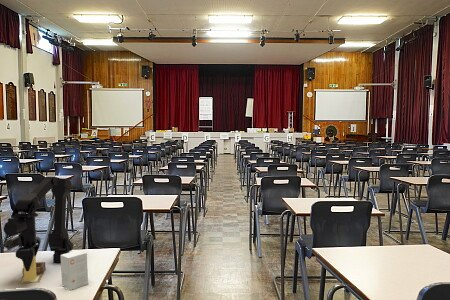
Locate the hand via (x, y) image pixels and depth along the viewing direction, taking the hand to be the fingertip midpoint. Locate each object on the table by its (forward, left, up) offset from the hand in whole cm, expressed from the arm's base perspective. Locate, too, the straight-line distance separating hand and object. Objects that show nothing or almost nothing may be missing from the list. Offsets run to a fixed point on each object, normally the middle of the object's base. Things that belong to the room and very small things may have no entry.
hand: (29, 267), depth 168 cm
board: (0, -4, -6) cm, 8 cm away
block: (0, 0, -5) cm, 5 cm away
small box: (-18, +10, -6) cm, 21 cm away
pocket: (0, -9, -6) cm, 11 cm away
